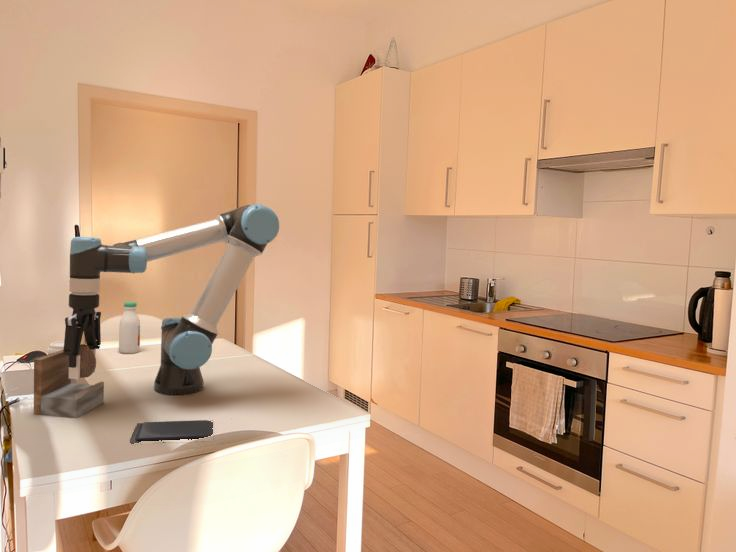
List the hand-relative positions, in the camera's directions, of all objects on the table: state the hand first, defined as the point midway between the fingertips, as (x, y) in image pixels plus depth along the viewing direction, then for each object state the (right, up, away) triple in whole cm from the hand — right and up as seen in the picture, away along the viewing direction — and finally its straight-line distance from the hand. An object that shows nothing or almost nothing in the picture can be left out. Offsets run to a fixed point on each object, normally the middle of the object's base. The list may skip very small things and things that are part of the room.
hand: (82, 375), depth 159 cm
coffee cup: (-13, -8, +15) cm, 21 cm away
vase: (0, -1, 0) cm, 1 cm away
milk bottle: (-16, -3, +70) cm, 72 cm away
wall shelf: (-3, -9, +1) cm, 10 cm away
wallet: (+30, -13, -12) cm, 35 cm away
